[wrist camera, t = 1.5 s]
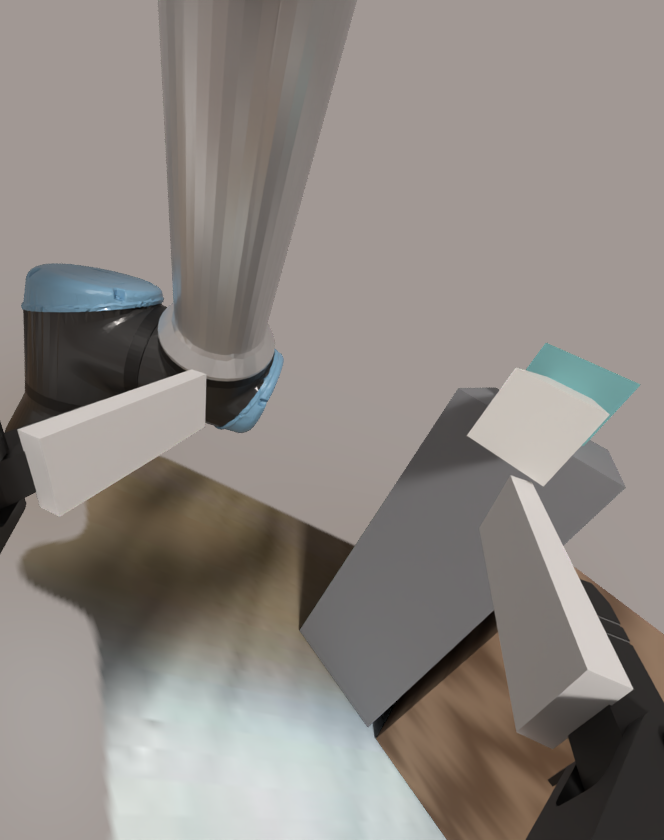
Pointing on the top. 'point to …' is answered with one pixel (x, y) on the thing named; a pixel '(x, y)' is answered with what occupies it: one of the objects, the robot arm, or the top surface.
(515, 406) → the bar
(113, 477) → the robot arm
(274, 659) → the top surface
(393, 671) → the tower
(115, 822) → the top surface
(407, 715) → the tall wooden pillar
